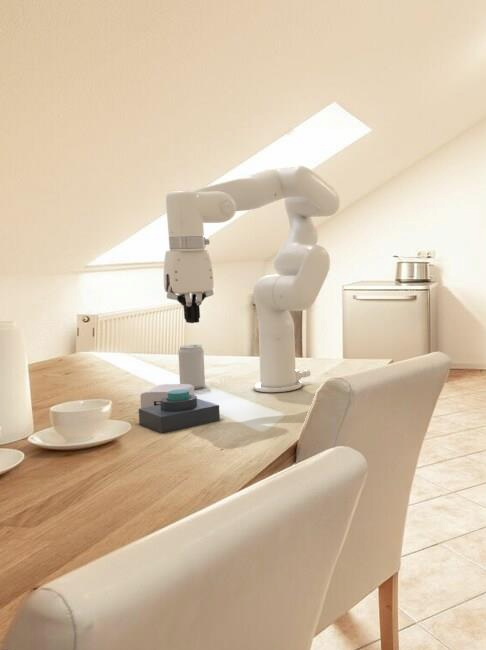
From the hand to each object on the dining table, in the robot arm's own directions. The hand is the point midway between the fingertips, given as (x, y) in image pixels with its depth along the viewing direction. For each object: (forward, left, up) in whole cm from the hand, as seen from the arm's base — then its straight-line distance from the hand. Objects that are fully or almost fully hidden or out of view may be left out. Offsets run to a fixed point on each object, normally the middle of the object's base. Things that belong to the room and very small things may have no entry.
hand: (192, 322), depth 149 cm
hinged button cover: (0, -12, -22) cm, 25 cm away
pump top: (+7, +6, -17) cm, 19 cm away
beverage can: (-12, -26, -22) cm, 36 cm away
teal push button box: (+7, +6, -22) cm, 23 cm away
